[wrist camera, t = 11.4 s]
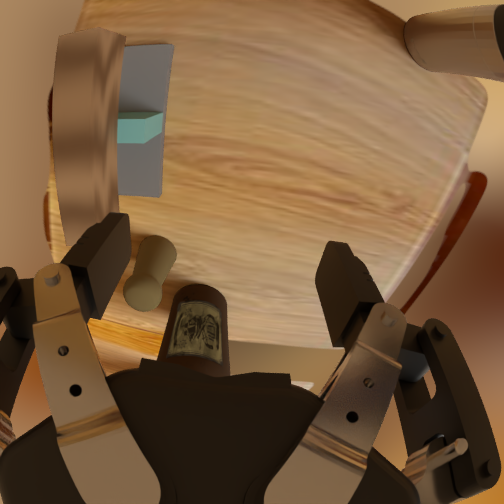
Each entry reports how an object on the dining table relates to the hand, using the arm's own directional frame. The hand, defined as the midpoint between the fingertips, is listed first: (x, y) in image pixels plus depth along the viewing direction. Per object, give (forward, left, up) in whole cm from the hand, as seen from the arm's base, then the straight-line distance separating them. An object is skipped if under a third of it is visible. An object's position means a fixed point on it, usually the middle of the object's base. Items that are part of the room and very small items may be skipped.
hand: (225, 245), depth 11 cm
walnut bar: (+9, -11, -17) cm, 22 cm away
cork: (+20, +6, -26) cm, 33 cm away
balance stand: (+9, -11, -26) cm, 29 cm away
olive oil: (+22, +18, -26) cm, 39 cm away
